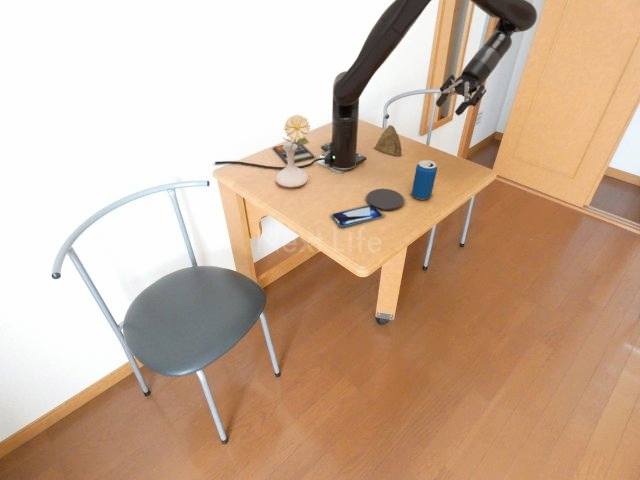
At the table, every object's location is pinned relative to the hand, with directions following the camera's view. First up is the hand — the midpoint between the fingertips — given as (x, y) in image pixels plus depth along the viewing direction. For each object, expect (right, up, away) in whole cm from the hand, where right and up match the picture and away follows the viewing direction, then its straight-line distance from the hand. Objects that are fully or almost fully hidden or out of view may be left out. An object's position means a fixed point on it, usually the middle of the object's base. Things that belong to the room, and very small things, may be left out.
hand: (447, 109), depth 119 cm
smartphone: (-29, -35, -2) cm, 46 cm away
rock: (-13, -6, +32) cm, 35 cm away
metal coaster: (-19, -29, +4) cm, 35 cm away
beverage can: (-7, -27, +7) cm, 29 cm away
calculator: (-52, -7, +31) cm, 61 cm away
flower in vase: (-50, -22, +13) cm, 56 cm away
